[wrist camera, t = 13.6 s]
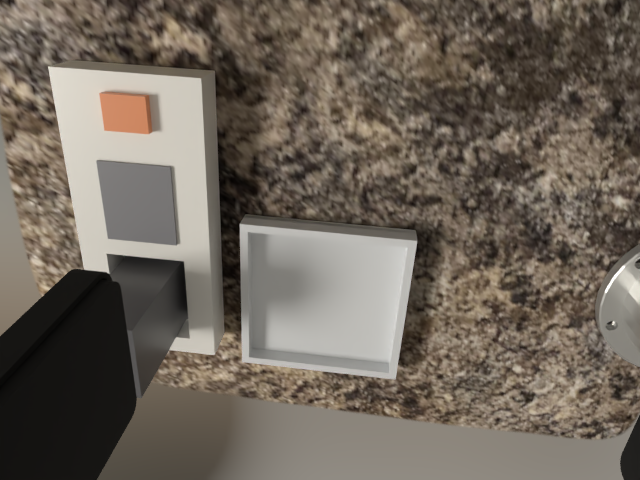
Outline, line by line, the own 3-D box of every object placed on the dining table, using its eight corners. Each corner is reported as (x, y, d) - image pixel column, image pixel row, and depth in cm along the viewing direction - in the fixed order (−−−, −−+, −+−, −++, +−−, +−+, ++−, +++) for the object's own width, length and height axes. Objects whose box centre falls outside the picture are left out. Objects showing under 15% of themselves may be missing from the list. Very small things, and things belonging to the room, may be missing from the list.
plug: (185, 254, 41) (132, 330, 32) (190, 312, 44) (141, 398, 35) (132, 249, 41) (64, 323, 32) (139, 307, 44) (78, 390, 35)
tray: (415, 230, 39) (417, 240, 37) (394, 365, 45) (395, 379, 43) (245, 214, 40) (239, 224, 38) (246, 348, 45) (242, 362, 44)
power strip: (214, 70, 35) (198, 79, 32) (224, 332, 45) (212, 359, 42) (72, 59, 36) (42, 68, 32) (113, 320, 46) (93, 346, 42)
